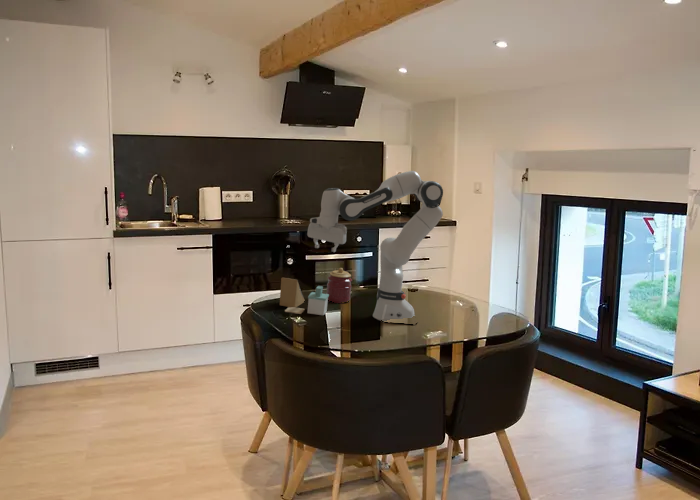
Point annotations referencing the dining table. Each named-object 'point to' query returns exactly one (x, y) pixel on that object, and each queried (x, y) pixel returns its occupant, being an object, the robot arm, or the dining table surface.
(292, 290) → the sandwich container
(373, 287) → the dining table surface
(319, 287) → the lid
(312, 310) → the box
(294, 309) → the board
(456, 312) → the dining table surface
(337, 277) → the canister
